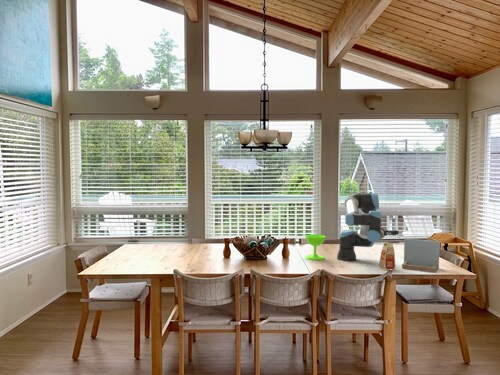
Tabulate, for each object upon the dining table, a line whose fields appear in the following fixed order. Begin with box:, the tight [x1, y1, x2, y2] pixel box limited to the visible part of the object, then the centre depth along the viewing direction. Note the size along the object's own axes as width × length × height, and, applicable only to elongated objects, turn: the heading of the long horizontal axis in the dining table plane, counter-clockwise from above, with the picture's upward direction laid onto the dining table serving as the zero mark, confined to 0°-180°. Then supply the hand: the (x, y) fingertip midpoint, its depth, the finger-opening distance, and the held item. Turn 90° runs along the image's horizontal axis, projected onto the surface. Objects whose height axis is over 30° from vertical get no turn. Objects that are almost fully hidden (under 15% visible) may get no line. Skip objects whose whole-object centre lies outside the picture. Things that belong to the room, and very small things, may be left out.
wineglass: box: [304, 234, 326, 261], centre depth 317 cm, size 16×16×18 cm
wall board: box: [401, 238, 441, 273], centre depth 284 cm, size 24×15×20 cm, turn 59°
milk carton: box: [378, 241, 396, 271], centre depth 283 cm, size 9×9×20 cm
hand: (385, 230), depth 274 cm, fingers open, 13 cm apart
